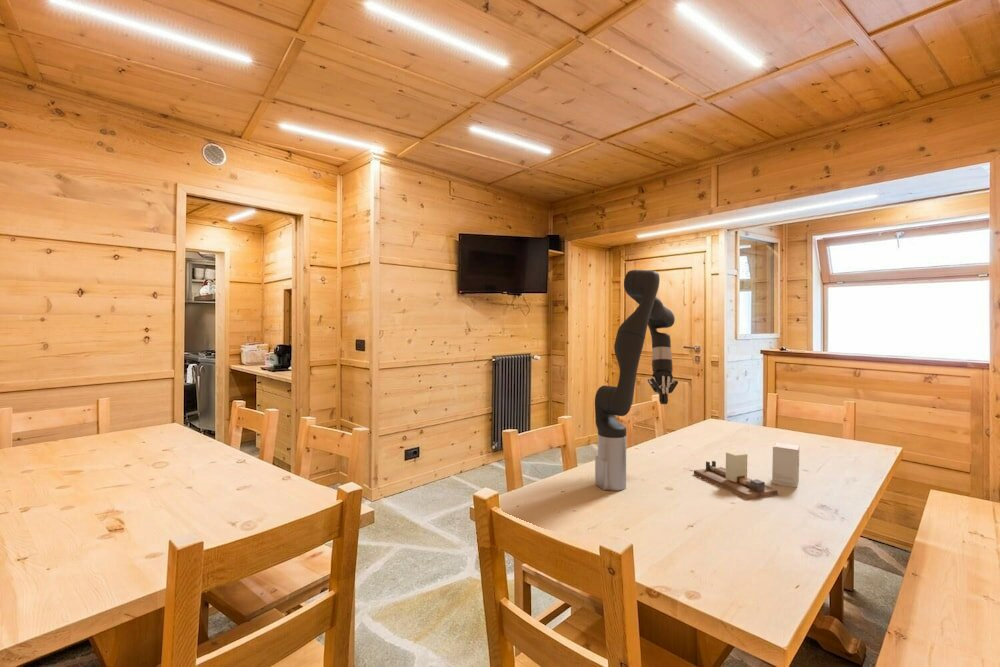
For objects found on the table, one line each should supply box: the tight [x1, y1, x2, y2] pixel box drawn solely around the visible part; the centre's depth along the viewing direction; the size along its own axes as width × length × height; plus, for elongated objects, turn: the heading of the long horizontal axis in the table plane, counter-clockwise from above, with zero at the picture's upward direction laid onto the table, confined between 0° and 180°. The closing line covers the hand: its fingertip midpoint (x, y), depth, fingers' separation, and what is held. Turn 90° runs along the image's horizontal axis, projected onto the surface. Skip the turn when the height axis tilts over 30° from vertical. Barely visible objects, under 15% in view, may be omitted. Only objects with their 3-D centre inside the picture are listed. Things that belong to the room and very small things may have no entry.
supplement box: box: [771, 442, 800, 488], centre depth 157 cm, size 7×7×13 cm
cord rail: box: [693, 460, 779, 500], centre depth 156 cm, size 12×24×4 cm, turn 16°
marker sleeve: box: [725, 450, 748, 482], centre depth 154 cm, size 5×4×9 cm
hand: (663, 404), depth 178 cm, fingers closed
